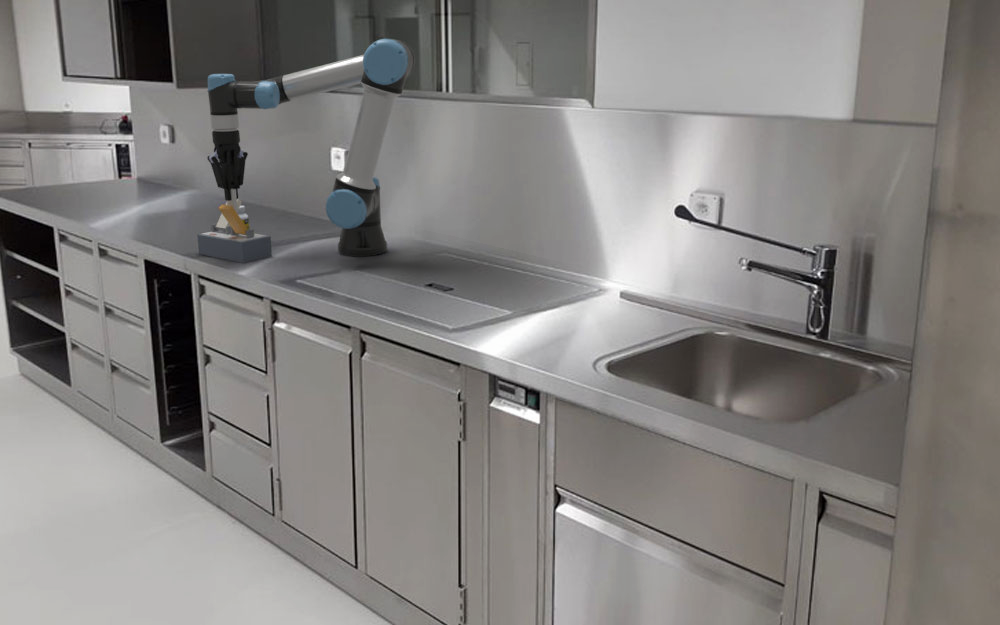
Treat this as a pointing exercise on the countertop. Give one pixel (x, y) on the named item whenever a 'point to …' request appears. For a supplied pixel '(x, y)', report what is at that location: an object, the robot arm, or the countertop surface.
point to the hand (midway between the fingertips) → (232, 211)
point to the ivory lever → (223, 222)
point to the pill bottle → (243, 216)
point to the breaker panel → (234, 245)
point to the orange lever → (233, 219)
